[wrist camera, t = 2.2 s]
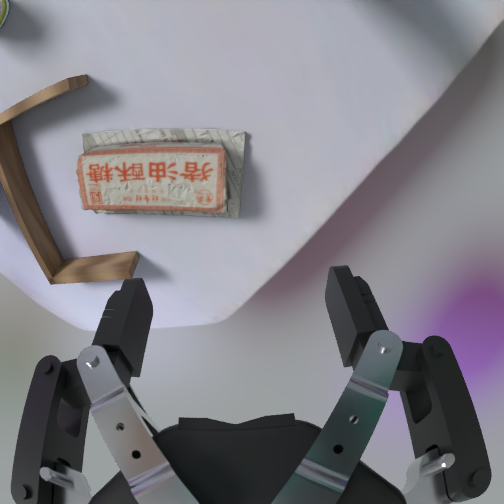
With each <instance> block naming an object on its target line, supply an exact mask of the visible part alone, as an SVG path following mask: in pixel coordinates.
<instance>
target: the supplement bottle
mask: <svg viewBox="0 0 504 504" xmlns="http://www.w3.org/2000/svg"><path fill="white" fill-rule="evenodd" d="M8 11H9V2H8V0H0V27H1V26H2V25H3V23H4V21H5V19H6V17H7V15H8Z"/></svg>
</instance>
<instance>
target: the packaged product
mask: <svg viewBox="0 0 504 504" xmlns="http://www.w3.org/2000/svg"><path fill="white" fill-rule="evenodd" d="M82 137H83V148H84V154H82V155H80V156H79V158H78V161H77V170H76V174H77V176H78V182H79V193H80V198H81V203H82V209H83V210H89V209H91V210H93V211H94V212H95V213H96V214H97V213H129V214H130V213H134V214H163V215H192V216H211V217H233V218H238V217H239V209H240V197H241V183H242V175H243V164H244V152H245V131H239V130H228V129H211V128H201V129H156V128H144V129H134V130H115V131H104V132H97V133H90V134H83V135H82Z"/></svg>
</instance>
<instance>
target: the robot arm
mask: <svg viewBox="0 0 504 504" xmlns="http://www.w3.org/2000/svg"><path fill="white" fill-rule="evenodd" d="M325 301H326V306H327V310H328V313H329V317H330V320H331V323H332V327H333V330H334V333H335V337H336V340H337V344H338V347H339V351H340V354H341V358H342V362H343V365H344V367H350V366H352V367H353V371H354V372H353V374H352V376H351V378H350V380H349V382H348V384H347V386H346V388H345V390H344V391H343V394H342V395H341V397H340V399H339V401H338V403H337V404H336V406H335V408H334V410H333V412H332V413H331V415H330V417H329V419H328V421H327V422H326V424H325V425H324V427H323V429H321V428H320V427H318V426H316V425H314V424H311V423H309V422H305V421H301V420H295V416H294V413H291V414H282V415H271V416H264V417H260V418H257V419H254V420H250V421H247V422H243V423H240V424H230V423H226V422H221V421H217V420H212V419H208V418H181V417H180V418H179V424H176V425H173V426H170V427H167V428H165V429H163V430H162V431H160V430H159V428H158V427H157V426H156V424H155V423H154V422H153V420H152V419H151V418H150V416H149V415H148V413H147V412H146V410H145V409H144V407H143V405H142V404H141V402H140V400H139V398H138V397H137V395H136V393H135V392H134V390H133V388H132V386H131V385H130V379H131V377H140V373H141V368H142V363H143V358H144V353H145V348H146V343H147V338H148V334H149V330H150V325H151V321H152V317H153V305H152V301H151V299H150V296H149V293H148V291H147V288H146V286H145V283H144V280H143V279H142V278H130V279H125V280H124V282H123V285H122V287H121V290H120V291H115V292H114V293H113V294H112V296H111V297H110V298H109V299H108V302H107V304H106V307H105V310H104V312H103V315H102V318H101V320H100V323H99V326H98V328H97V331H96V334H95V338H94V340H93V343H92V345H91V346H89V347H87V348H85V349H84V350H83V351H82V352H81V353H80V354H79V356H78V358H77V359H73V360H69V361H65V362H61V361H60V360H59V359H58V358H57V357H55V356H52V355H49V356H46V357H44V358H42V359H41V360H40V361H39V362H38V364H37V366H36V368H35V372H34V375H33V378H32V381H31V385H30V388H29V392H28V396H27V399H26V403H25V407H24V411H23V415H22V420H21V424H20V429H19V434H18V439H17V444H16V451H15V456H14V464H13V471H12V481H11V494H12V497H13V499H14V501H15V502H16V504H455V503H459V502H463V501H466V500H469V499H472V498H476V497H478V496H480V495H481V494H483V493H484V492H485V491H486V490H487V488H488V486H489V484H490V481H491V468H490V463H489V459H488V455H487V450H486V447H485V443H484V439H483V435H482V432H481V428H480V425H479V422H478V418H477V415H476V412H475V409H474V406H473V403H472V400H471V397H470V394H469V391H468V389H467V386H466V383H465V380H464V378H463V375H462V372H461V370H460V368H459V365H458V363H457V360H456V358H455V355H454V353H453V351H452V348H451V346H450V344H449V343H448V342H447V341H446V340H445V339H444V338H442V337H440V336H430V337H427V338H426V339H425V340H424V341H423V343H412V342H405V341H401V339H400V337H399V336H398V335H397V334H395V333H393V332H391V331H389V329H388V327H387V325H386V323H385V320H384V318H383V316H382V314H381V312H380V309H379V307H378V305H377V302H375V301H376V300H375V298H374V296H373V295H372V292H371V290H370V287H369V285H368V284H367V283H366V282H365V281H364V280H363V279H362V278H361V277H360V276H356V277H353V275H352V273H351V271H350V268H349V267H348V266H347V265H344V266H333V267H330V269H329V273H328V280H327V285H326V291H325ZM388 390H394V391H400V395H401V398H402V402H403V406H404V410H405V414H406V418H407V423H408V427H409V431H410V436H411V440H412V445H413V450H414V454H415V460H414V461H413V462H412V463H411V464H410V465H409V467H408V470H407V480H406V485H405V487H404V488H403V490H402V491H400V490H399V489H398V488H396V487H395V486H394V485H392V484H391V483H389V482H388V481H387V480H386V479H384V478H383V477H382V476H380V475H379V474H378V473H376V472H375V471H374V470H372V469H371V468H370V467H368V466H367V465H366V464H365V463H363V462H362V461H361V460H360V458H361V456H362V454H363V452H364V450H365V448H366V446H367V444H368V442H369V440H370V438H371V436H372V434H373V432H374V430H375V427H376V425H377V423H378V421H379V418H380V416H381V414H382V411H383V409H384V407H385V404H386V402H387V399H388V395H389V394H388ZM60 401H61V402H60ZM59 405H60V406H59ZM90 405H92V406H90ZM58 410H59V411H58ZM89 410H91V413H92V416H93V417H94V420H95V422H96V424H97V426H98V428H99V430H100V432H101V434H102V437H103V439H104V440H105V442H106V444H107V446H108V448H109V450H110V452H111V454H112V456H113V457H114V459H115V461H116V463H117V465H118V466H119V468H120V471H119V472H118V473H117V474H116V475H115V476H114V477H113V478H112V479H111V480H110V481H109V482H108V483H107V484H106V485H105V486H104V487H103V488H102V489H101V490H100V491H99V492H97V493H96V494H95V495H94V496H93V497H91V495H90V486H89V485H88V482H87V479H86V478H85V476H84V475H83V474H82V464H83V454H84V445H85V437H86V429H87V423H88V416H89ZM57 415H58V416H57Z"/></svg>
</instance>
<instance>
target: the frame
mask: <svg viewBox="0 0 504 504" xmlns="http://www.w3.org/2000/svg"><path fill="white" fill-rule="evenodd" d="M87 84H88V80H87V75H86V74H85V75H80V76H75V77H71V78H67V79H65V80H62V81H60V82H58V83H56V84H54V85H52V86H50V87H47V88H45V89H43V90H41V91H39V92H37V93H36V94H34V95H32V96H30V97H28V98H26V99H24V100H23V101H21V102H19V103H17V104H16V105H14V106H12V107H10V108H9V109H7V110H5V111H4V112H2V113H1V114H0V181H1V184H2V186H3V189H4V192H5V194H6V197H7V199H8V202H9V204H10V206H11V209H12V211H13V213H14V215H15V218H16V220H17V222H18V224H19V226H20V229H21V231H22V233H23V235H24V237H25V239H26V241H27V243H28V245H29V247H30V249H31V251H32V252H33V254H34V256H35V258H36V260H37V262H38V264H39V265H40V267H41V269H42V271H43V272H44V274H45V276H46V277H47V279H48V281H49V283H50V284H51V285H52V284H66V283H80V282H94V281H107V280H119V279H130V278H132V276H133V273H134V271H135V268H136V266H137V263H138V261H139V256H138V254H137V251H134V252H125V253H116V254H108V255H100V256H91V257H83V258H75V259H67V260H63V258H62V256H61V254H60V252H59V250H58V248H57V246H56V244H55V242H54V240H53V237H52V235H51V233H50V231H49V229H48V227H47V224H46V222H45V220H44V218H43V215H42V213H41V211H40V208H39V206H38V203H37V201H36V199H35V196H34V193H33V191H32V188H31V186H30V183H29V180H28V177H27V175H26V172H25V169H24V166H23V163H22V160H21V157H20V153H19V150H18V147H17V143H16V140H15V136H14V133H13V129H12V125H11V121H10V120H12V119H14V118H16V117H17V116H19V115H21V114H23V113H25V112H27V111H29V110H31V109H33V108H35V107H37V106H39V105H41V104H43V103H45V102H47V101H49V100H51V99H54V98H56V97H58V96H60V95H63V94H65V93H67V92H70V91H72V90H75V89H77V88H80V87H82V86H85V85H87Z"/></svg>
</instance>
